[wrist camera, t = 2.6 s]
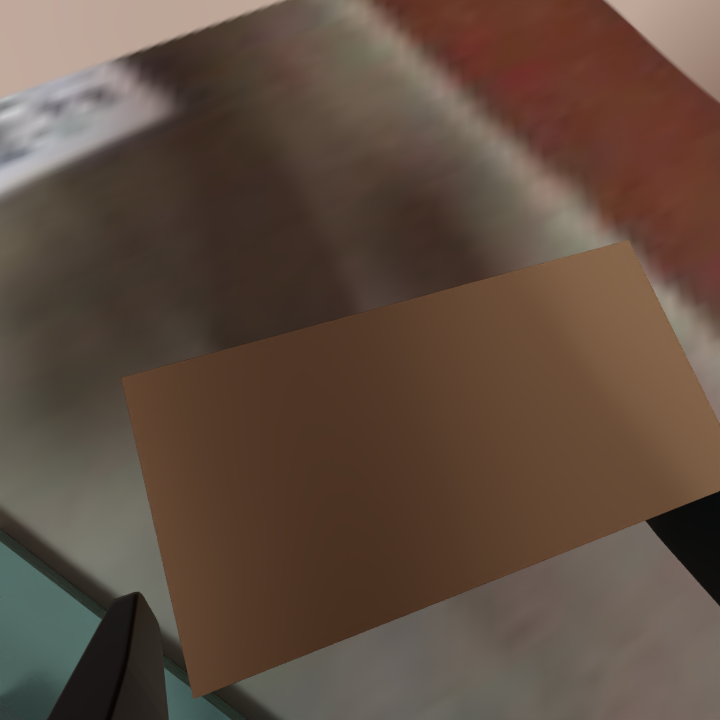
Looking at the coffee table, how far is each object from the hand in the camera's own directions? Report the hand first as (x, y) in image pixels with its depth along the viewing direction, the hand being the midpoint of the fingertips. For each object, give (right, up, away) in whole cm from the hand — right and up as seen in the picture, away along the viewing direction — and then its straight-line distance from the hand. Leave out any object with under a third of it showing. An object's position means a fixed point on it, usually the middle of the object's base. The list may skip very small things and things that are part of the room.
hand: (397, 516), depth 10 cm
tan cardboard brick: (-1, -2, +8) cm, 9 cm away
